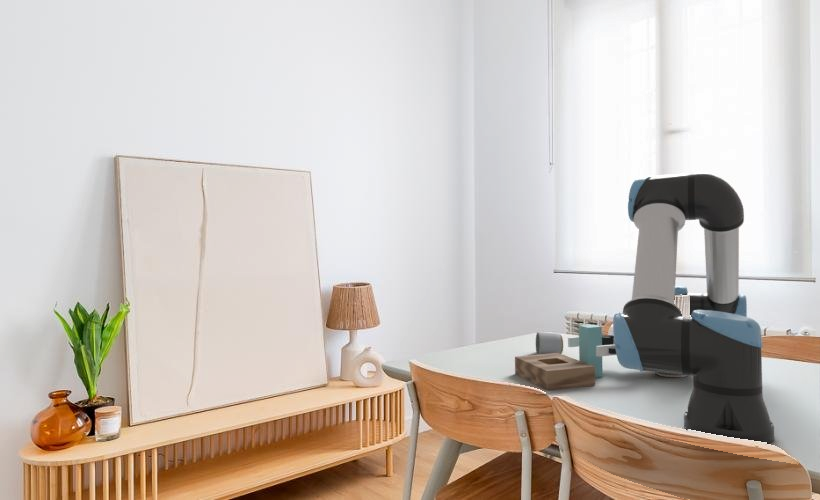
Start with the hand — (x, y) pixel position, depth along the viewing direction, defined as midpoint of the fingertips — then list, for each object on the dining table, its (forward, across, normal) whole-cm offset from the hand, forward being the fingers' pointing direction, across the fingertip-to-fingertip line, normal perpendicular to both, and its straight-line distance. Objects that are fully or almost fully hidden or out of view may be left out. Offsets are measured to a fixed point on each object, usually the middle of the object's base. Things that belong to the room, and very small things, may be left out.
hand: (582, 346), depth 146 cm
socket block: (+9, 0, -8) cm, 13 cm away
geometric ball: (-40, +36, -8) cm, 54 cm away
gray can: (-6, +29, -9) cm, 31 cm away
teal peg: (-3, 0, -8) cm, 9 cm away
